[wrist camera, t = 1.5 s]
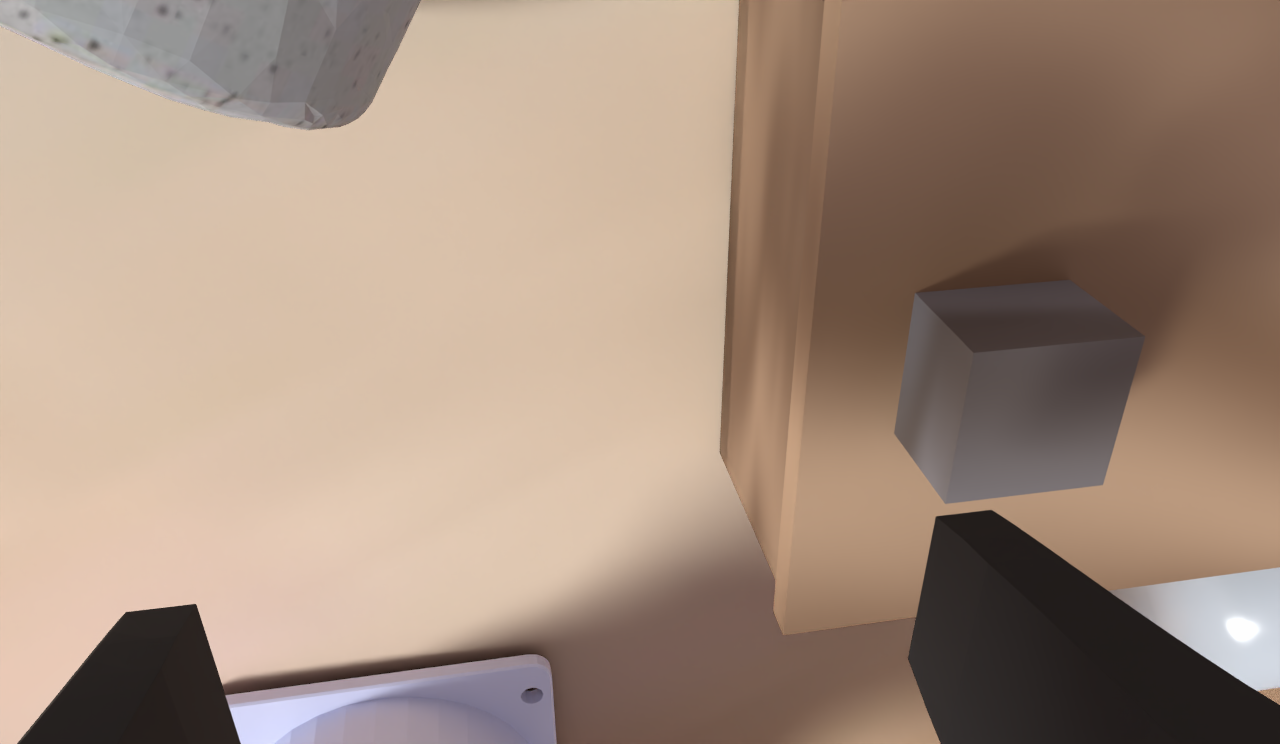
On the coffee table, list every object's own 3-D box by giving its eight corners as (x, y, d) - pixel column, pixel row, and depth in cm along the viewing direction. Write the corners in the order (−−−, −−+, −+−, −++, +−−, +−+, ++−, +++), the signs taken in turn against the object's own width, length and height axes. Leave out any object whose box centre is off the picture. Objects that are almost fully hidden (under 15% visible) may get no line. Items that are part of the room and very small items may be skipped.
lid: (1290, 542, 19) (1393, 630, 17) (773, 611, 17) (817, 718, 15) (1531, -34, 14) (1720, -5, 12) (825, -8, 12) (901, 29, 10)
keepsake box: (1136, 407, 23) (1273, 525, 19) (719, 452, 21) (779, 590, 18) (1271, -57, 18) (1492, -21, 14) (741, -42, 16) (830, 4, 13)
